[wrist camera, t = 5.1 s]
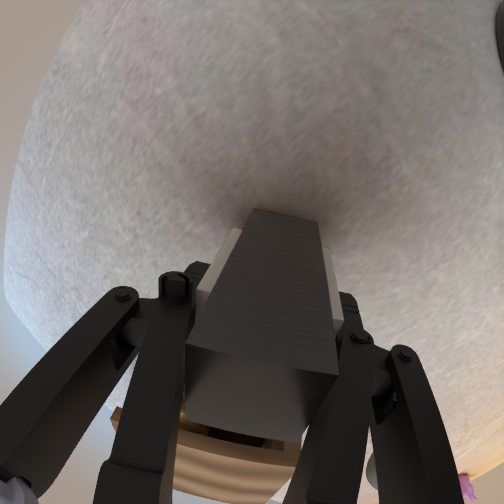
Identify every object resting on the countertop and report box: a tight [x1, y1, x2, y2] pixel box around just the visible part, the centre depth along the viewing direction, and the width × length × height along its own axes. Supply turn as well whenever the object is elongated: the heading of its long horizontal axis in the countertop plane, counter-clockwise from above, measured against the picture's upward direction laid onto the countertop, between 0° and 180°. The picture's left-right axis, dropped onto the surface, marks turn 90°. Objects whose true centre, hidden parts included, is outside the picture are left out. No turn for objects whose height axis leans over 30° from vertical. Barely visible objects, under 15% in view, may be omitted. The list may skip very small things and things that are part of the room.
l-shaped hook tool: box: [185, 209, 339, 443], centre depth 17 cm, size 22×4×12 cm, turn 170°
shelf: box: [110, 406, 302, 504], centre depth 26 cm, size 17×16×8 cm
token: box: [179, 401, 210, 436], centre depth 29 cm, size 7×7×3 cm
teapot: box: [458, 475, 478, 501], centre depth 35 cm, size 12×14×9 cm
